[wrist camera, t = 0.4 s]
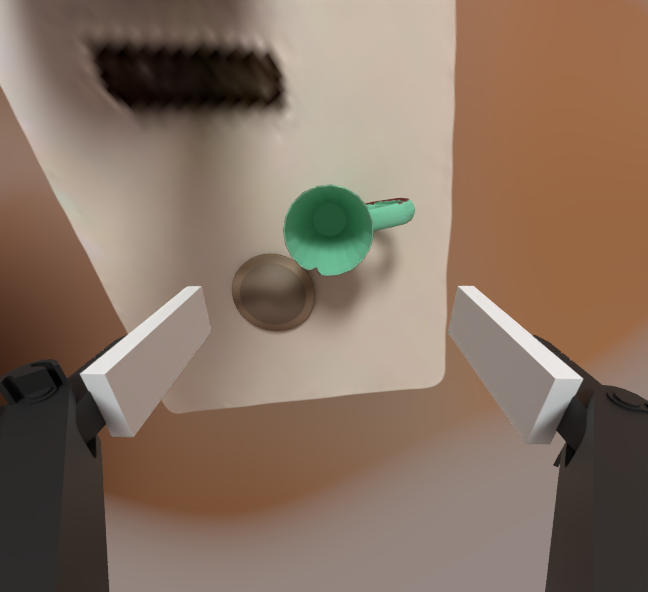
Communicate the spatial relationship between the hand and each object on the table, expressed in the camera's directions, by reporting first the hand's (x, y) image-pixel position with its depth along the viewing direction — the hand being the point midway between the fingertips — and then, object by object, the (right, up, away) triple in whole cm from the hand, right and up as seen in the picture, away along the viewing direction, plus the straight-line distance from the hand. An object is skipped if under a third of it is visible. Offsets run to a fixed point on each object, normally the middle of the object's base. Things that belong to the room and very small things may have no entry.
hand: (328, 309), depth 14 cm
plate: (-8, +1, +29) cm, 30 cm away
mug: (+3, +12, +24) cm, 27 cm away
